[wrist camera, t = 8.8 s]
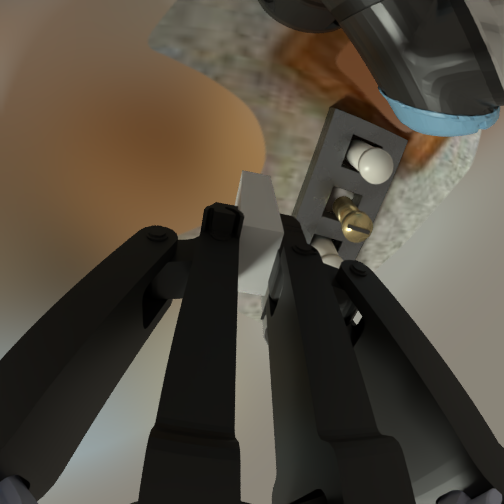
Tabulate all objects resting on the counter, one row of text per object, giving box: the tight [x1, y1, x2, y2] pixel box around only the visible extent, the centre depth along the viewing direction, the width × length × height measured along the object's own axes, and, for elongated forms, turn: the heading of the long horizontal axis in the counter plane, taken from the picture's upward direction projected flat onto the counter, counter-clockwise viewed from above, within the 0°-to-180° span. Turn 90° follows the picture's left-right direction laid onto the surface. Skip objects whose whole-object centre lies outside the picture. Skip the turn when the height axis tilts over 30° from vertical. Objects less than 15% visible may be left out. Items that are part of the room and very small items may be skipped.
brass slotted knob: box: [332, 196, 373, 243], centre depth 39 cm, size 4×4×8 cm
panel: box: [291, 107, 408, 261], centre depth 43 cm, size 26×12×3 cm, turn 164°
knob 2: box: [345, 139, 393, 184], centre depth 37 cm, size 5×5×8 cm
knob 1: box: [310, 234, 343, 269], centre depth 45 cm, size 5×5×8 cm
